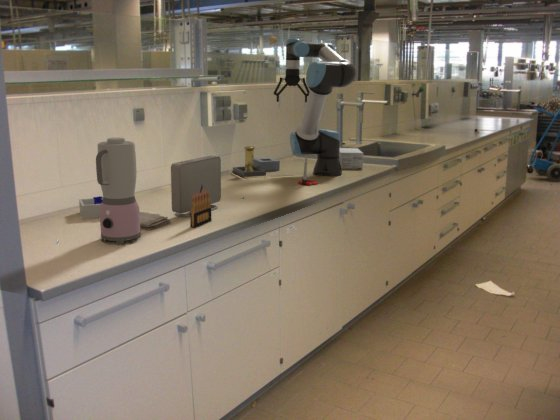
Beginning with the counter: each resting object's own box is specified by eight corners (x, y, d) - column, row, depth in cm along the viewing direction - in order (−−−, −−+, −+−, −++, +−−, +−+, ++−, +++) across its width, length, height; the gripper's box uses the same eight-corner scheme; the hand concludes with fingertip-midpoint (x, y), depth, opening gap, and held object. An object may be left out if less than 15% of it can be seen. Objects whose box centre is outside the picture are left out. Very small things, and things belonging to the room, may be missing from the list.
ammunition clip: (194, 228, 190) (194, 194, 187) (190, 227, 191) (189, 193, 188) (211, 221, 200) (211, 188, 197) (207, 220, 201) (206, 187, 198)
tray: (265, 176, 283) (266, 171, 282) (244, 178, 278) (244, 172, 277) (253, 171, 297) (254, 166, 296) (232, 172, 292) (232, 167, 291)
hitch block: (279, 172, 297) (279, 160, 296) (260, 173, 293) (260, 161, 291) (271, 168, 307) (271, 157, 306) (252, 169, 303) (252, 158, 301)
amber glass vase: (255, 174, 286) (256, 147, 283) (246, 174, 284) (246, 147, 281) (252, 172, 291) (252, 145, 287) (242, 173, 289) (242, 146, 285)
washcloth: (151, 232, 186) (150, 223, 185) (109, 225, 194) (109, 216, 193) (172, 224, 196) (172, 215, 196) (132, 217, 204) (132, 209, 203)
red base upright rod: (306, 181, 275) (296, 183, 268) (307, 156, 273) (297, 157, 265) (320, 184, 271) (311, 186, 263) (322, 157, 268) (312, 159, 261)
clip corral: (135, 214, 206) (135, 201, 205) (83, 219, 198) (82, 205, 197) (130, 208, 215) (129, 195, 214) (79, 212, 207) (79, 199, 206)
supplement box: (335, 163, 330) (336, 147, 327) (357, 163, 330) (358, 148, 328) (339, 168, 313) (340, 152, 311) (362, 168, 314) (363, 152, 312)
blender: (117, 231, 184) (112, 135, 176) (148, 236, 180) (145, 137, 172) (85, 244, 170) (78, 140, 162) (118, 250, 166) (113, 143, 158)
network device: (185, 220, 200) (183, 165, 195) (166, 216, 204) (164, 162, 199) (225, 206, 222) (225, 156, 217) (207, 203, 226) (207, 154, 221)
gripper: (314, 69, 304) (313, 108, 310) (269, 68, 303) (268, 107, 309) (316, 69, 297) (314, 109, 302) (269, 68, 296) (269, 108, 301)
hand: (291, 108), depth 306 cm, fingers open, 13 cm apart
